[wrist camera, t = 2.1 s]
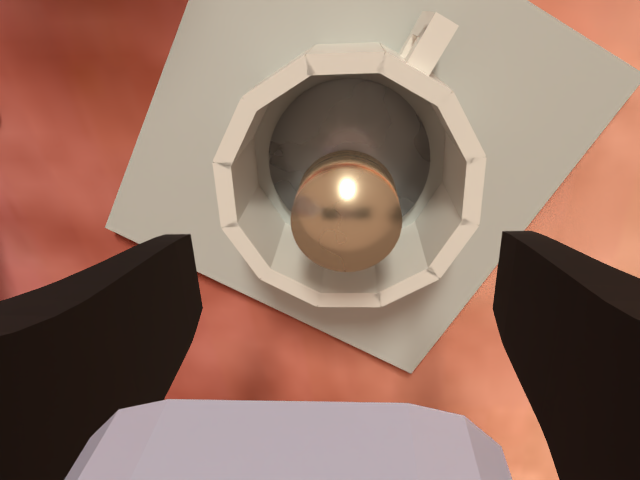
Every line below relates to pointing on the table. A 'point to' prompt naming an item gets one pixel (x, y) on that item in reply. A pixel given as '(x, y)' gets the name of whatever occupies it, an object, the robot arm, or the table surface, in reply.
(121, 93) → the table surface
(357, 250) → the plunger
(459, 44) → the white square-based fixture
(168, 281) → the robot arm
